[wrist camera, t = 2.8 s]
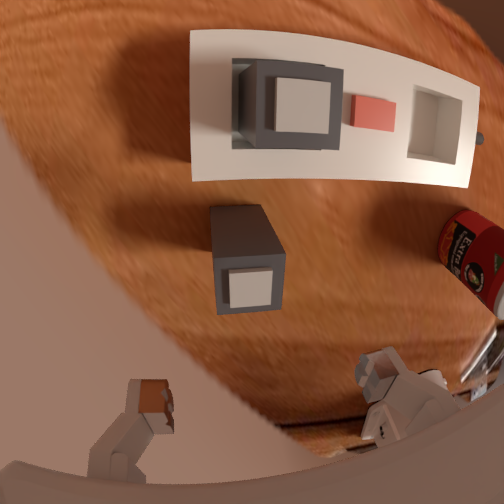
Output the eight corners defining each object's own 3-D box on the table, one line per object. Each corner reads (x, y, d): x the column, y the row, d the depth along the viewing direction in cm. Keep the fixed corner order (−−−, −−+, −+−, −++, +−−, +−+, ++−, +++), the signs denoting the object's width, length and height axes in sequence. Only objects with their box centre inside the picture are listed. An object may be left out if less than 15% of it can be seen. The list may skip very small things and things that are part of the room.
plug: (259, 249, 25) (282, 313, 18) (212, 252, 25) (217, 319, 18) (260, 204, 24) (287, 257, 16) (209, 207, 23) (213, 262, 16)
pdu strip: (468, 176, 25) (532, 210, 17) (194, 164, 21) (188, 207, 13) (478, 97, 21) (547, 115, 12) (193, 46, 17) (185, 7, 9)
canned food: (439, 214, 27) (511, 268, 17) (482, 202, 27) (548, 245, 17) (431, 273, 31) (487, 332, 21) (473, 256, 31) (527, 304, 21)
